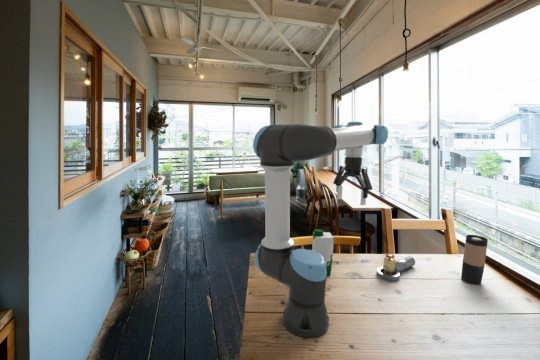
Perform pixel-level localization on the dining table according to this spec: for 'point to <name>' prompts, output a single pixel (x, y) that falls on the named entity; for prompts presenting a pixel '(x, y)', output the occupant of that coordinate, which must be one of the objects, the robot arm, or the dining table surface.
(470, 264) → the travel mug
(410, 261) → the grey ring-headed tool
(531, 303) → the dining table surface
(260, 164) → the robot arm
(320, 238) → the milk carton
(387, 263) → the yellow jar pink lid
